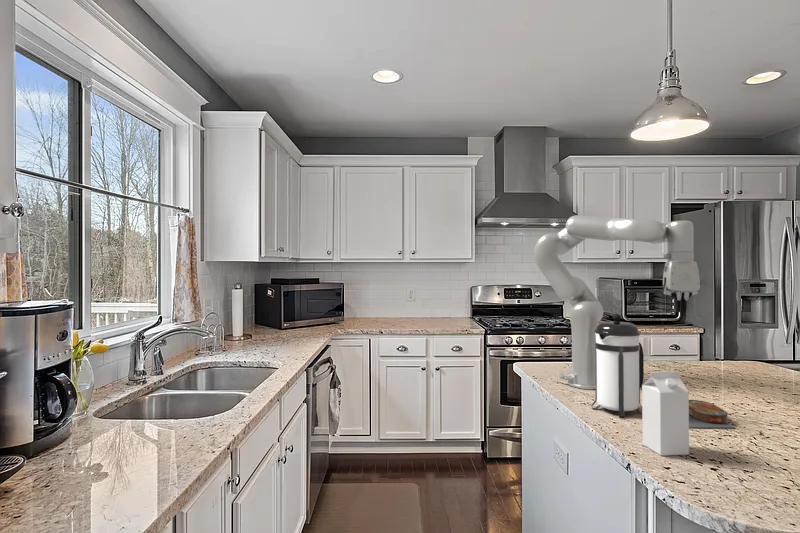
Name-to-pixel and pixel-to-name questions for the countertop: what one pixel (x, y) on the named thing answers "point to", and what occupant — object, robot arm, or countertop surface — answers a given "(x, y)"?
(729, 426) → the rubber mat
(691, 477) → the countertop surface
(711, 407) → the tin
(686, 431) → the milk carton
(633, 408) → the coffee press
